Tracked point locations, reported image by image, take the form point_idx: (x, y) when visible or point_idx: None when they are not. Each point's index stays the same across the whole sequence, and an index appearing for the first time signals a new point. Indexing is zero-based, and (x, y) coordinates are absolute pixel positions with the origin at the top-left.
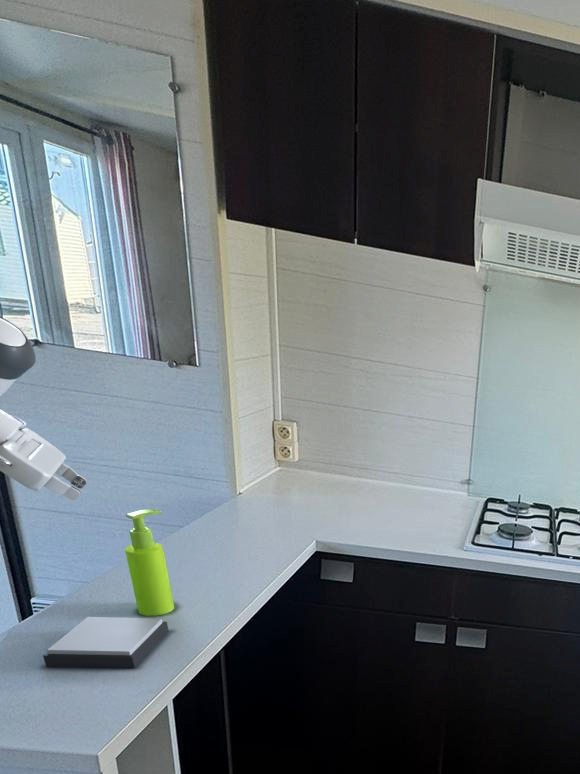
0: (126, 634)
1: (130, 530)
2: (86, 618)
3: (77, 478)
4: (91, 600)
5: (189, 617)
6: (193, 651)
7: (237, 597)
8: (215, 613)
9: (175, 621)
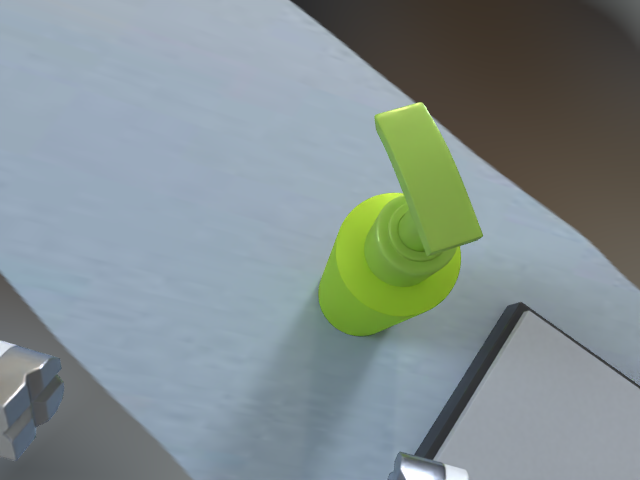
0: (588, 407)
1: (411, 268)
2: None
3: (15, 408)
4: (211, 421)
5: None
6: (631, 289)
7: None
8: None
9: None
